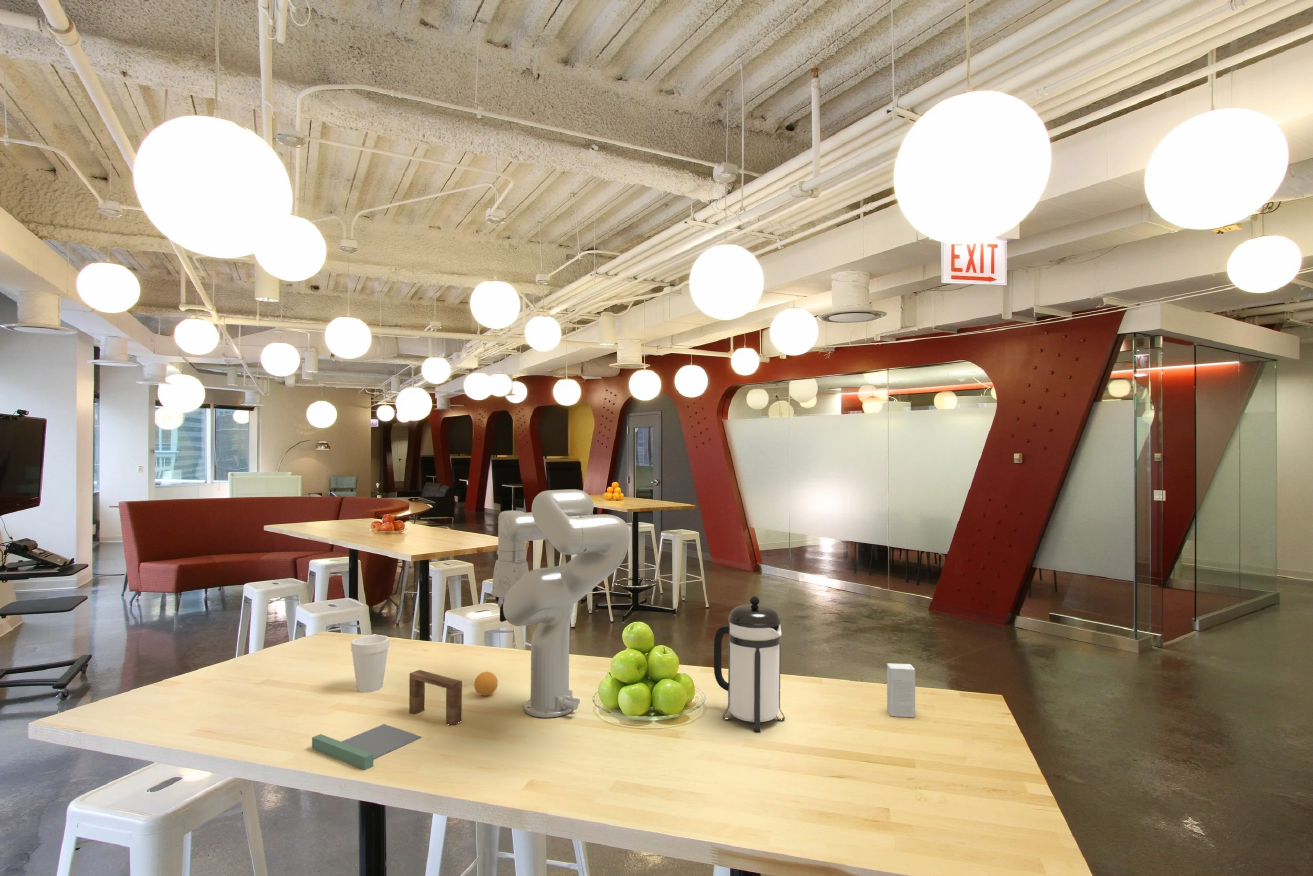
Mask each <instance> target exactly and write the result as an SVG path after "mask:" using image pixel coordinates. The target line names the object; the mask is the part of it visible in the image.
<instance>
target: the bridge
mask: <svg viewBox="0 0 1313 876" xmlns="http://www.w3.org/2000/svg"><path fill="white" fill-rule="evenodd" d="M408 683H409V690H408V691H409V692H408V693H409V696H408V703H409V704H408V708H409V709H408V713H409V714H413V715H416V714H419V713H421V712H423V711H425V710H426V709H425V708H426V707H425V702H426V701H425V689H426V688H425V687H426V684H430V685H434V686H437V687H441V688H444V689H446V690H445V693H446V694H445V718H446V719H445V724H446V725H447V724H449V725H448V726H450V725H453V726H455V725H457V724H456V723H458V722H460V721H463V720H462V719H463V718H462V717H463V715H462V714H463V712H462V711H463V709H462V708H463V707H462V706H463V704H462V703H463V681H462V680H459V679H455V678H453V677H448V676H444V675H440V674H437V673H433V672H430V671H429V672H428V671H425V670H423V669H418V670H415V671H411V672H409V682H408ZM425 683H426V684H425ZM460 723H461V722H460ZM454 724H455V725H454ZM458 724H459V723H458Z"/></svg>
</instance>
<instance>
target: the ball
mask: <svg viewBox="0 0 1313 876" xmlns="http://www.w3.org/2000/svg"><path fill="white" fill-rule="evenodd" d="M473 683H474V684H473V685H474V690H475V692H476V693H477V694H478V695H480V696H484V697H486V696H487V697H488V696H490V695H492V694H493V693H495V691H496V690H497V687H498V684H499V683H498V677H497V676H496V675H495V674H494V673H493V672H490V671H483V672H481V673H479V674H478V675H477V676H476V678H475V680H474V682H473Z"/></svg>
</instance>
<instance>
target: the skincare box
mask: <svg viewBox="0 0 1313 876" xmlns="http://www.w3.org/2000/svg"><path fill="white" fill-rule="evenodd" d="M886 695H887V696H886V703H887V704H886V705H887V706H886V708H887V709H886V710H887V712H888V714H889V715H891V716H890V717H893V716H895V717H896V718H899V717H900V718H916V669H915V667H914V666H913V665H912V664H911V663H890V662H889V663H886Z"/></svg>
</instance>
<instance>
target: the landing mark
mask: <svg viewBox="0 0 1313 876" xmlns="http://www.w3.org/2000/svg"><path fill="white" fill-rule="evenodd" d="M421 738H422V736H421V735H418V734H416V733H412V732H410V731H407V730H403V729H400V728H397V727H394V726H391V725H388V724H386V723H383V724H381V725H379V726H376V727H373V728H371V729H369V730H366V731H364V732H361V733H358V734H356V735H354V736H351V737H350V738H346V739H344V740H340V742H343V743H346V744H348V745H351V746H354V747H356V748H359V749H362V750H364V751H367V752H370V753H372V754H373V760H376V759H378V758H380V757H382V756H385V755H386V754H388V753H390V752H393V751H395V750H397V749H399V748H402V747H404V746H406V745H408V744H411V743H414V742H415V741H417V740H419V739H421Z"/></svg>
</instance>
